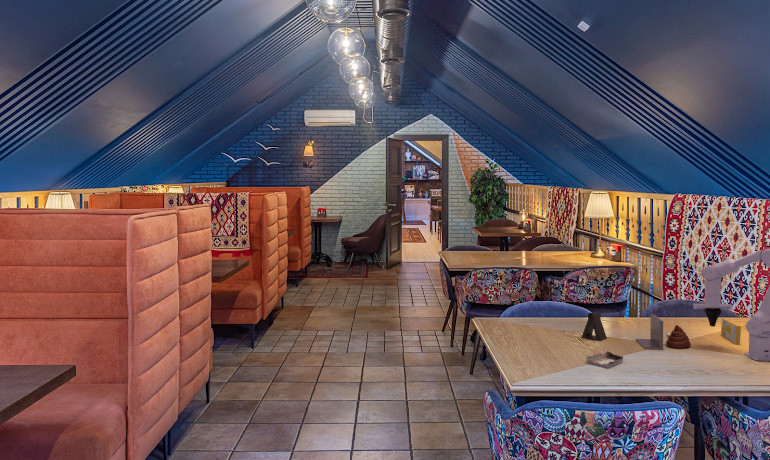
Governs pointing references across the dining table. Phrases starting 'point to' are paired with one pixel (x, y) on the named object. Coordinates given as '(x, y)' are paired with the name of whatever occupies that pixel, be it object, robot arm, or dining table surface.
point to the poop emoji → (678, 339)
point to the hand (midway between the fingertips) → (712, 326)
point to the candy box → (731, 331)
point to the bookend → (654, 335)
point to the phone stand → (594, 327)
